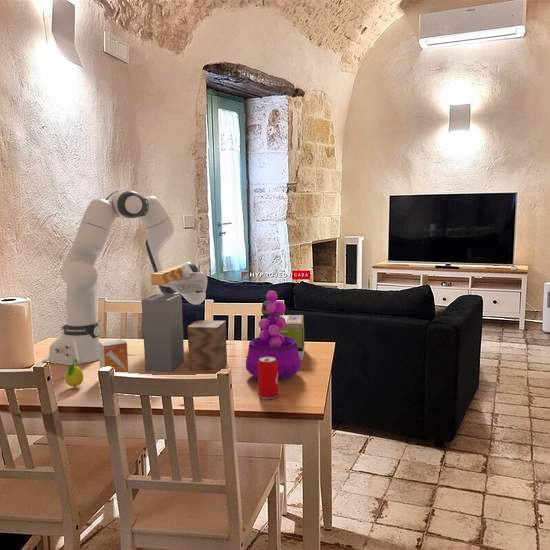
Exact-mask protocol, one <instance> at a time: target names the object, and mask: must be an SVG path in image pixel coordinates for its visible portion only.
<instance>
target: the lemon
mask: <svg viewBox="0 0 550 550" xmlns="http://www.w3.org/2000/svg"><path fill="white" fill-rule="evenodd" d="M74 362H75V363H77V364H76V365H74ZM68 366H69V367H68V368H67V369H66V373H65V377H64V378H65V381H66V385H68V386H70V387H72V388H74V389H75V388H77V387H78V386H80V385H81V384H82V383H83V382H84V373H83V370H82V369H81V368H80V367H79V364H78V361H77V359H75V360H74V358H73V364H72V365H68Z"/></svg>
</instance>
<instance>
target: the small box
mask: <svg viewBox="0 0 550 550" xmlns="http://www.w3.org/2000/svg"><path fill="white" fill-rule="evenodd" d="M99 358H100V359H99V369H100V368H102V367H106V366H111V367H114V369H115V372H128V373H129V357H128V342H127V341H125V340H124V339H122V338H121V339H120V338H119V339H112V340H108V341H107V340H106V341H101V342H100V341H99Z"/></svg>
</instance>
